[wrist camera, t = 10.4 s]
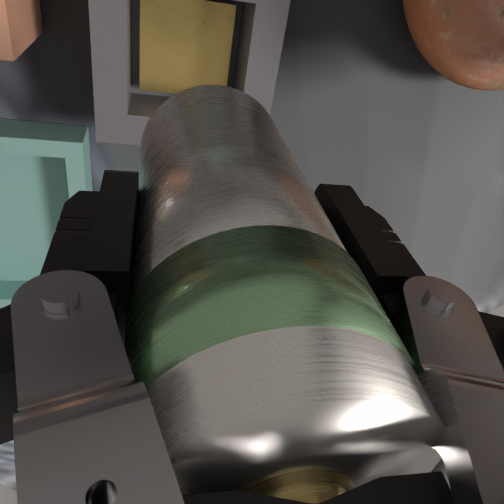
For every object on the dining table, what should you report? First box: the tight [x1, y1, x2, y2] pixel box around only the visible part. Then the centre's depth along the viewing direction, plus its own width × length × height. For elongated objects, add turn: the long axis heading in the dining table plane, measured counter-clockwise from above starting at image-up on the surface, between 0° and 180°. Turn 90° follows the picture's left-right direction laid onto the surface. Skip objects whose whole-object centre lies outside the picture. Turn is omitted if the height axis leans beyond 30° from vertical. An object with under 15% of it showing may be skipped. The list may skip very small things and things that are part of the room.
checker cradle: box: [88, 0, 291, 145], centre depth 22 cm, size 9×13×5 cm
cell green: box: [124, 85, 445, 503], centre depth 9 cm, size 4×4×11 cm
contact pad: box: [139, 0, 236, 94], centre depth 24 cm, size 5×5×1 cm
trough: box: [0, 118, 92, 308], centre depth 29 cm, size 9×13×3 cm
